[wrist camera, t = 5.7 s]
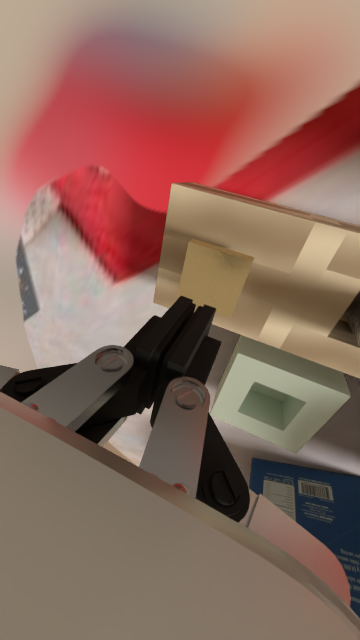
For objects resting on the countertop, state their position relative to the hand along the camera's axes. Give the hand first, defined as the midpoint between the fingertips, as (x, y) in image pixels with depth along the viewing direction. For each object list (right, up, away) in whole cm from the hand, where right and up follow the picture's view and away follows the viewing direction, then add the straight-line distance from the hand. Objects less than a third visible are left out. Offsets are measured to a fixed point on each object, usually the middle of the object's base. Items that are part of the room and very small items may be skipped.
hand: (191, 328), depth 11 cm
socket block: (+10, +5, +11) cm, 15 cm away
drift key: (+3, +6, +10) cm, 12 cm away
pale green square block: (+10, -6, +17) cm, 21 cm away
